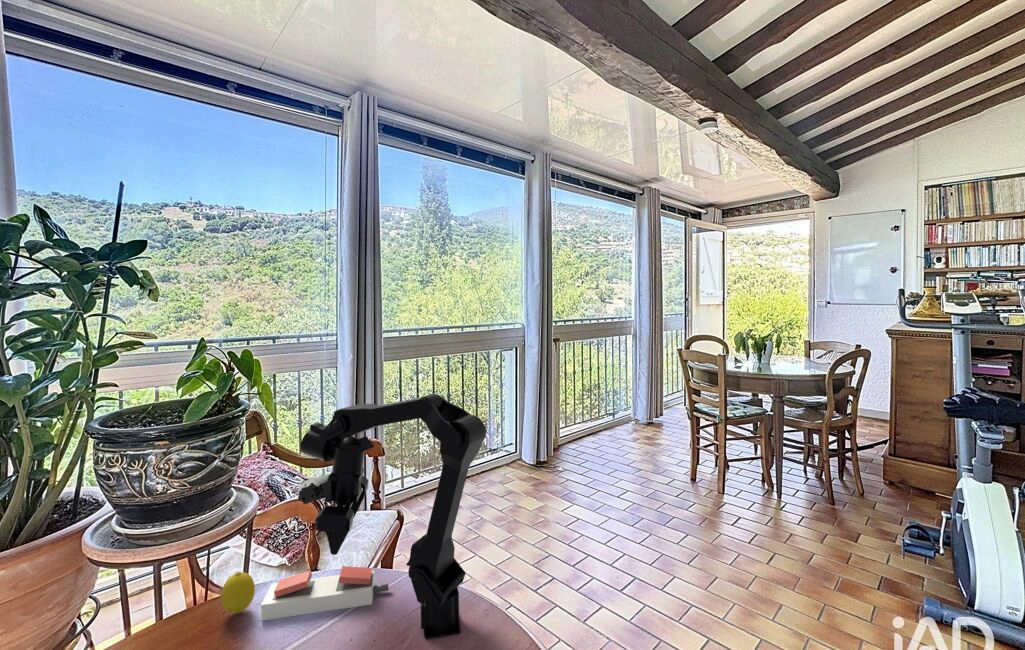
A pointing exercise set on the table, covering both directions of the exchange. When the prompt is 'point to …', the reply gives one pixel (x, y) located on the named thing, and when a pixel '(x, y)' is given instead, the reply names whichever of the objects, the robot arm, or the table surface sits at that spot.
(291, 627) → the table surface
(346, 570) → the block
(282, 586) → the block
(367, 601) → the power strip
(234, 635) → the table surface
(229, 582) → the lemon
